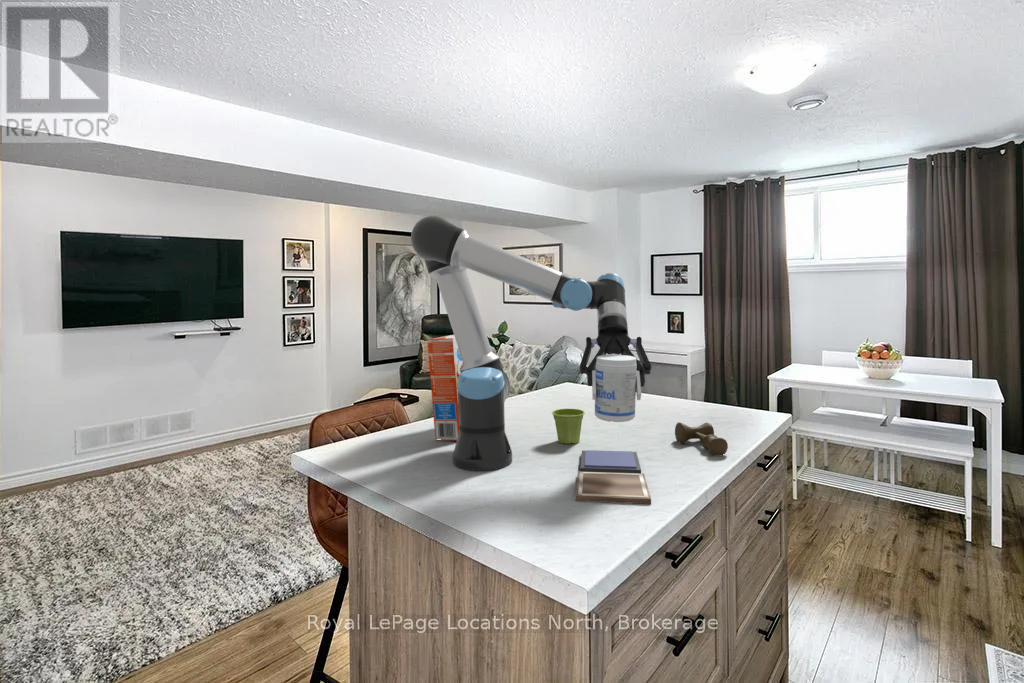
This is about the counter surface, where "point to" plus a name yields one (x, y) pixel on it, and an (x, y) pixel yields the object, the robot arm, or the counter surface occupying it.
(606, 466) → the ink pad
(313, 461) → the counter surface
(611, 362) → the supplement tub
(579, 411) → the plant pot
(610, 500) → the board
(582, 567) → the counter surface
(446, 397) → the orange cereal box
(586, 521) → the counter surface
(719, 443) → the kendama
